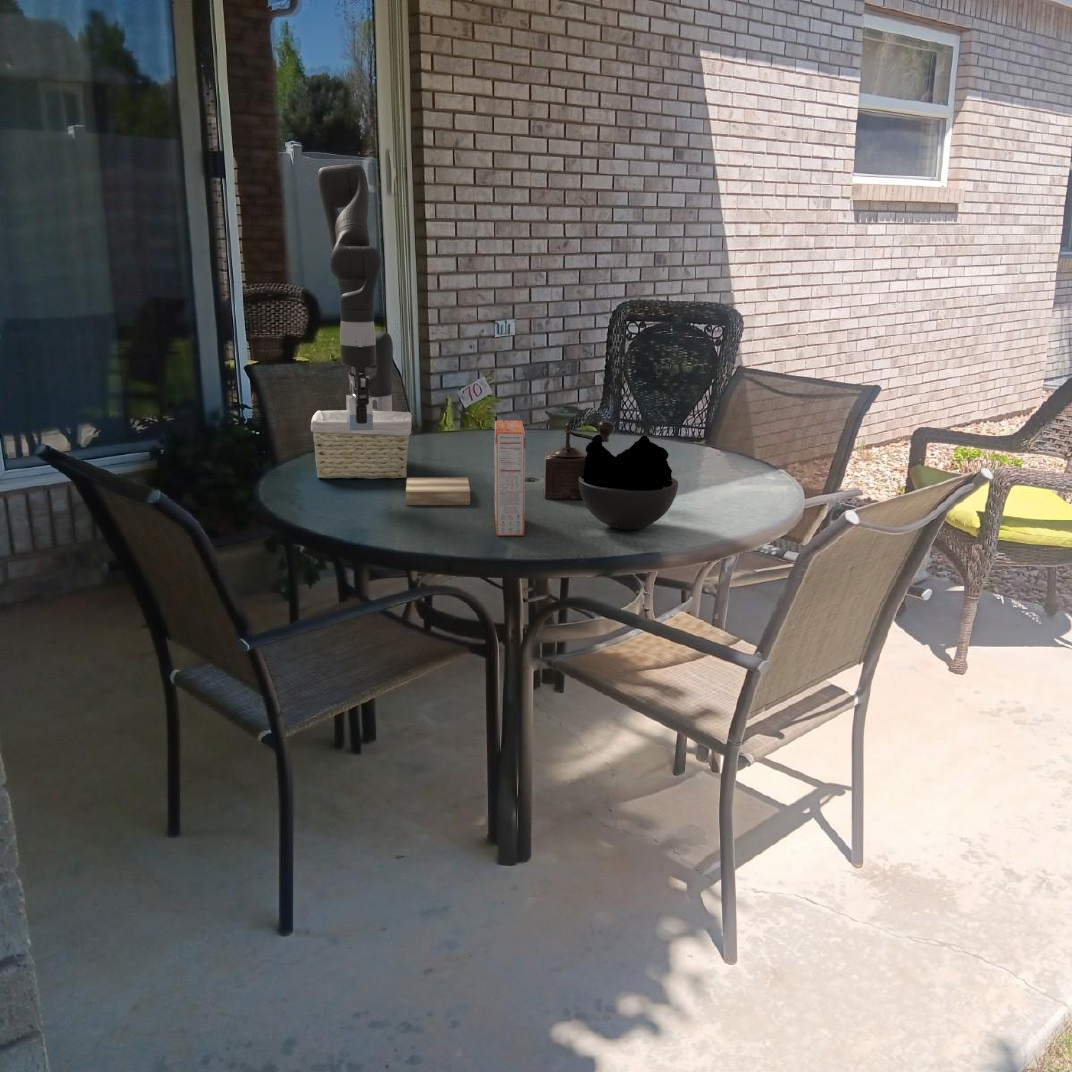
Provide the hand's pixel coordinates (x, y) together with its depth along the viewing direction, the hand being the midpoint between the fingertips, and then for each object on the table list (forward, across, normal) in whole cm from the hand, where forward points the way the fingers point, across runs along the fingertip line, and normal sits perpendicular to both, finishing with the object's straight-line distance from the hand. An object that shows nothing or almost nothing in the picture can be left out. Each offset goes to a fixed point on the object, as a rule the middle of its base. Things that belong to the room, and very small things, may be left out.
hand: (360, 420), depth 224 cm
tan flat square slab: (+17, +3, +17) cm, 24 cm away
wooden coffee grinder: (+18, +8, +48) cm, 52 cm away
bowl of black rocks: (+18, +37, +49) cm, 64 cm away
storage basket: (+18, -25, +4) cm, 31 cm away
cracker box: (+18, +32, +25) cm, 44 cm away
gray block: (+2, 0, 0) cm, 2 cm away
